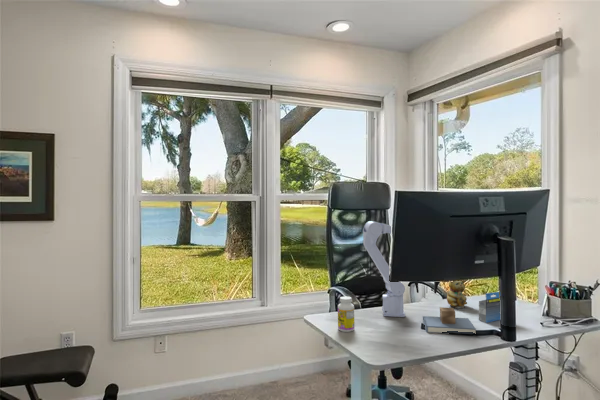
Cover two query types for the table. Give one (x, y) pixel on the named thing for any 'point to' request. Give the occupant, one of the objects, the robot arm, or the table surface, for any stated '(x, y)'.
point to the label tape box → (489, 308)
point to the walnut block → (447, 315)
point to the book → (447, 325)
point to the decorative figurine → (456, 294)
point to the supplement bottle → (346, 314)
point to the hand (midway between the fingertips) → (426, 292)
